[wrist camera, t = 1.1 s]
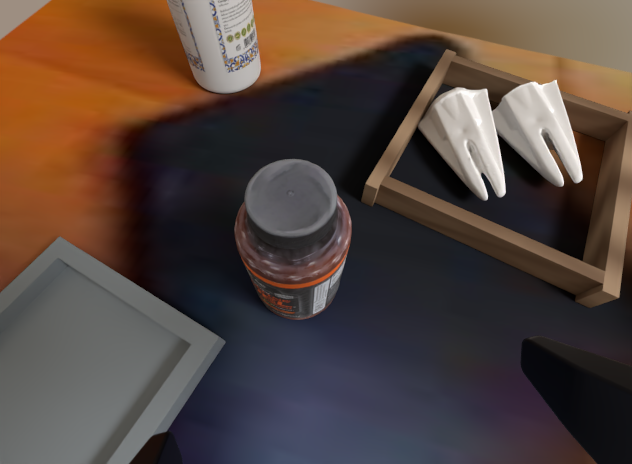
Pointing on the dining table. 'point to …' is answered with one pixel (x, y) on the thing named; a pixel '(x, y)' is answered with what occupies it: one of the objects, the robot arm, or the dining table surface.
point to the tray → (90, 362)
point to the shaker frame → (499, 242)
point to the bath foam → (219, 42)
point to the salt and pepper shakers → (502, 134)
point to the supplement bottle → (293, 237)
